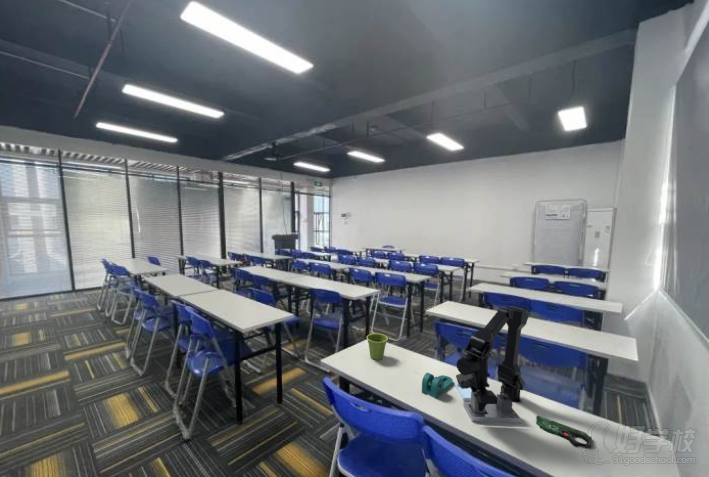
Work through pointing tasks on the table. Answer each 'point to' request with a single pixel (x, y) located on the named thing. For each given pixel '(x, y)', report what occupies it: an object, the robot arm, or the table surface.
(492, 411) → the grey socket base
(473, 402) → the plug
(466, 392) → the tray
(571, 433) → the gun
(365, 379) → the table surface
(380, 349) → the plant pot
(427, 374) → the bracket
